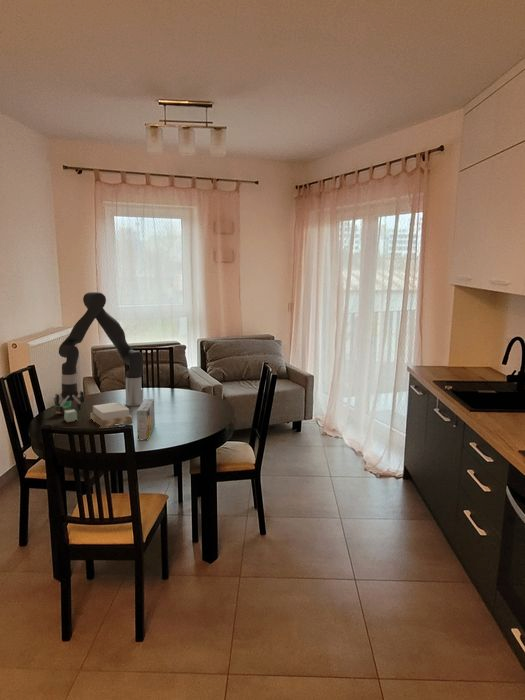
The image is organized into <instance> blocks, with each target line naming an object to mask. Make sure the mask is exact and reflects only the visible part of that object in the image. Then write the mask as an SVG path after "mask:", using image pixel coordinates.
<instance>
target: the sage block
mask: <svg viewBox="0 0 525 700" xmlns="http://www.w3.org/2000/svg"><path fill="white" fill-rule="evenodd" d="M63 415H64V421H66V422H67V423H70V422H75V420H77V421H78V411H77V410H76V409H74V408H73V409H71V410H66V411H64V414H63Z"/></svg>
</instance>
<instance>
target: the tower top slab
mask: <svg viewBox="0 0 525 700" xmlns="http://www.w3.org/2000/svg"><path fill="white" fill-rule="evenodd" d="M92 413H94V414H95V415H96V416H98V417H99V418H100V419H102V420H103V421H104V420H110V419H116V418H123V417H129V415H130V408H128V407H127V406H125V405H123V404H122V403H121V402H111V403H110V402H109V403H103V404H95V405H92Z"/></svg>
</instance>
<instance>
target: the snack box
mask: <svg viewBox="0 0 525 700" xmlns="http://www.w3.org/2000/svg"><path fill="white" fill-rule="evenodd" d="M155 419H156V418H155V398H143V402H142V404H141V405H139V407H138V408H137V410H136V421H137V425H136V427H137V440H138V439H148V438H149V439H150V437H151V435H150V434H152V433H153V431H152V430H154V429H155V427H154V426H156V423H155V422H156V421H155ZM153 428H154V429H153ZM151 432H152V433H151ZM149 436H150V437H149ZM149 439H148V440H149Z"/></svg>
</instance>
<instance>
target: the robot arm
mask: <svg viewBox="0 0 525 700" xmlns="http://www.w3.org/2000/svg"><path fill="white" fill-rule="evenodd" d="M82 302H83V304H84V306H85V308H86V309H87V310H86V311H85V312H84V314H83V315H82V316H81V317H80V318H79V319H78V321H77V322H76V323H75V324H74V326H73V327H72V329H71V331H70V333H69V335H68V336H67V337H66V338H65V339H64V340H63V342H62V343H61V344H60V346H59V347H58V355H59V356H60V357H62V358H65V359H66V360H65V362H63V363H62V364H61V393H56V394H55V395H54V397H55V401H54V406H55V405H56V406H59V412H60V413H63V406H62V405H63V404H64V403H65V402H66V401H71V402H74V401H75V402H76V411H77V412H79V411H80V410H81V404H82V403H85V394H84V392H83V391H82V390H80V391H78V376H77V364H78V360H79V357H80V356H79V355H80V351H79V349H78V347H77V346H76V345H78V344H81V343H82V341H84V338H85V336H86V334H87V332H88V330H89V329H90V327H91V325H92V323H93V322H94V321H95V320H96V321H97V323H98V324H99V326H100V327H101V328H102V330H103V331H104V333H105V335H106V336H107V337H108V339H109V340H110V342H111V343H112V344H113V346H114V348H115V349H116V350H117V353H118V354H119V355H120V357H121V359H122V361H123V363H125V364H126V365H128V367H129V369H128V370H127V371H126V372H125V405H126V407H127V406H128V407H137V406H139V407H140V405H141V404H142V402H143V401H144V389H143V387H142V374H143V371H144V367H143V366H144V357H143V356H144V355H143V354H142V352H141V351H137V350H134V349H133V348H131V346H130V345H129V344H128V342H127V340H126V333H125V331H124V329H123V328H122V326H121V324H120V323H119V322H118V320H117V319H116V318H115V317H113V316H112V315H110V314H109V312H107V311H106V310H105V309H104V307H105V306H106V303H107V299H106V295H105V294H103V292H95V291H94V292H91V291H90V292H86V293H85V294H84V295H83V297H82ZM61 396H62V400H61V402H60V403H59V398H60V397H61ZM78 396H79V399H80V400H79V399H78Z"/></svg>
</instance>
